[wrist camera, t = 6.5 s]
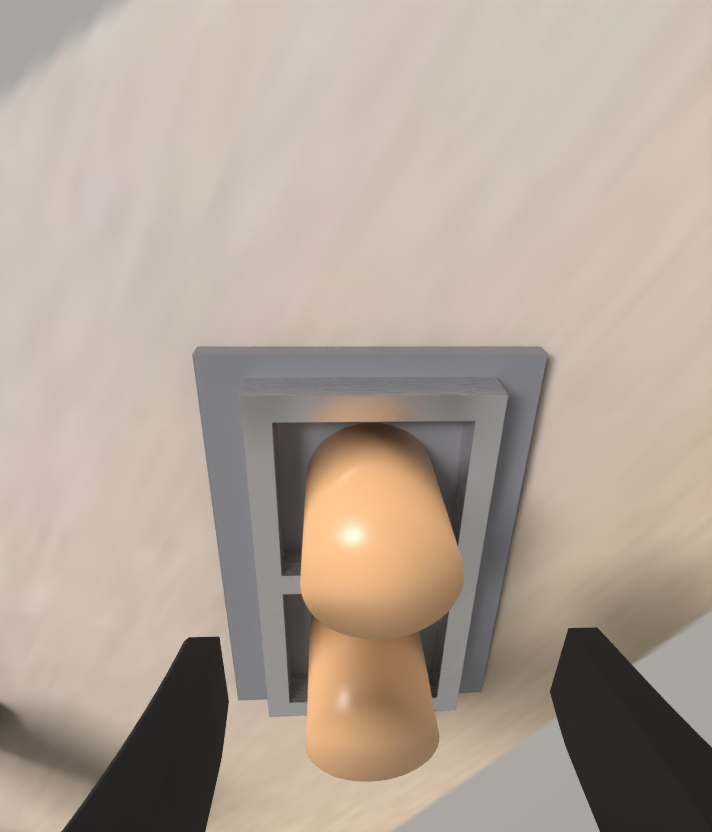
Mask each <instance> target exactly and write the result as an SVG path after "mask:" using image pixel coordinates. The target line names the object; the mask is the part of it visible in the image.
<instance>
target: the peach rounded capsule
mask: <svg viewBox="0 0 712 832" xmlns="http://www.w3.org/2000/svg"><path fill="white" fill-rule="evenodd" d="M463 584H464V566H463V561H462V558H461V555H460V552H459V548H458V545H457V542H456V539H455V536H454V533H453V529H452V526H451V523H450V520H449V517H448V514H447V510H446V507H445V504H444V501H443V498H442V495H441V491H440V488H439V485H438V482H437V479H436V476H435V472H434V469H433V466H432V463H431V460H430V457H429V455H428V452H427V451H426V449H425V448H424V446H423V445H422V444H421V443H420V441H419V440H418V439H417V438H415V437H414V436H413V435H412V434H410V433H409V432H407V431H405V430H403V429H401V428H399V427H396V426H393V425H389V424H384V423H375V422H372V423H360V424H355V425H351V426H348V427H345V428H343V429H340V430H338V431H337V432H335V433H333V434H332V435H330V436H329V437H327V438H326V439H325V440H324V441H323V442H322V443H321V444H320V445H319V446H318V447H317V448H316V450H315V451H314V453H313V455H312V456H311V459H310V461H309V464H308V468H307V475H306V491H305V508H304V526H303V543H302V560H301V577H300V586H301V593H302V597H303V600H304V602H305V604H306V606H307V607H308V609H309V610H310V612H311V613H312V614H313V615H314V616H315V618H316V619H318V620H319V621H320V622H321V623H322V624H324V625H326V626H327V627H329V628H330V629H332V630H334V631H336V632H339V633H341V634H344V635H347V636H351V637H355V638H361V639H372V640H381V639H392V638H398V637H402V636H407V635H410V634H413V633H416V632H418V631H420V630H423V629H425V628H427V627H428V626H430V625H432V624H434V623H435V622H436V621H438V620H439V619H441V618H442V617H443V616H444V615H445V614H446V613H447V612H448V611H449V610H450V609H451V608H452V607H453V605H454V604H455V602H456V601H457V599H458V597H459V595H460V593H461V591H462V587H463Z"/></svg>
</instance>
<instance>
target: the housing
mask: <svg viewBox="0 0 712 832" xmlns="http://www.w3.org/2000/svg"><path fill="white" fill-rule="evenodd" d="M192 355H193V363H194V370H195V378H196V385H197V393H198V400H199V408H200V415H201V423H202V431H203V438H204V446H205V453H206V461H207V468H208V476H209V483H210V491H211V498H212V506H213V513H214V521H215V529H216V536H217V544H218V551H219V559H220V566H221V574H222V581H223V589H224V596H225V604H226V611H227V619H228V626H229V634H230V642H231V649H232V657H233V664H234V672H235V679H236V687H237V694H238V700H264V699H268V709H269V717H278V716H306V715H307V732H306V749H307V753H308V756H309V758H310V759H311V761H312V762H313V763H314V764H315V765H316V766H317V767H318V768H320V769H321V770H323V771H324V772H326V773H328V774H330V775H332V776H335V777H338V778H342V779H346V780H352V781H381V780H387V779H391V778H396V777H399V776H402V775H405V774H407V773H409V772H411V771H413V770H415V769H417V768H419V767H420V766H422V765H423V764H424V763H425V762H427V761H428V760H429V759H430V758H431V757H432V755H433V754H434V752H435V751H436V749H437V747H438V743H439V732H438V727H437V721H436V716H435V711H446V710H456V705H457V699H458V693H470V692H481V690H482V685H483V680H484V675H485V670H486V664H487V659H488V654H489V649H490V644H491V639H492V634H493V629H494V624H495V619H496V614H497V609H498V604H499V599H500V593H501V588H502V583H503V578H504V573H505V568H506V563H507V558H508V553H509V548H510V543H511V538H512V533H513V528H514V522H515V517H516V512H517V507H518V502H519V497H520V492H521V487H522V482H523V477H524V472H525V467H526V462H527V457H528V451H529V446H530V441H531V436H532V431H533V426H534V421H535V416H536V411H537V406H538V401H539V396H540V391H541V386H542V380H543V375H544V370H545V365H546V360H547V355H548V354H547V353H546V352H545V351H544V350H543V349H542V348H541V347H197V348H196V349H195V351H194V353H193V354H192ZM372 422H375V423H384V424H389V425H393V426H396V427H399V428H401V429H403V430H405V431H407V432H409V433H410V434H412V435H413V436H414V437H415V438H417V439H418V440H419V441H420V443H421V444H422V445H423V446H424V448H425V449H426V451H427V452H428V455H429V457H430V460H431V463H432V466H433V469H434V472H435V476H436V479H437V482H438V485H439V488H440V491H441V495H442V498H443V501H444V504H445V507H446V510H447V514H448V517H449V520H450V523H451V526H452V529H453V533H454V536H455V539H456V542H457V545H458V548H459V552H460V555H461V558H462V561H463V566H464V584H463V587H462V591H461V593H460V595H459V597H458V599H457V601H456V602H455V604H454V605H453V607H452V608H451V609H450V610H449V611H448V612H447V613H446V614H445V615H444V616H443V617H442V618H441V619H439V620H438V621H436V622H435V623H434V624H432V625H430V626H428V627H427V628H425V629H423V630H420V631H418V632H416V633H413V634H410V635H407V636H402V637H398V638H392V639H381V640H372V639H361V638H355V637H351V636H347V635H344V634H341V633H339V632H336V631H334V630H332V629H330V628H329V627H327V626H326V625H324V624H322V623H321V622H320V621H319V620H318V619H316V618H315V616H314V615H313V614H312V613H311V612H310V610H309V609H308V607H307V606H306V604H305V602H304V600H303V597H302V593H301V586H300V577H301V560H302V543H303V526H304V508H305V491H306V475H307V468H308V464H309V461H310V459H311V456H312V455H313V453H314V451H315V450H316V448H317V447H318V446H319V445H320V444H321V443H322V442H323V441H324V440H325V439H326V438H327V437H329V436H330V435H332V434H333V433H335V432H337V431H338V430H340V429H343V428H345V427H348V426H351V425H355V424H360V423H372Z"/></svg>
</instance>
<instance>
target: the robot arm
mask: <svg viewBox="0 0 712 832" xmlns="http://www.w3.org/2000/svg"><path fill="white" fill-rule="evenodd" d="M550 693H551V697H552V701H553V704H554V708H555V712H556V715H557V719H558V722H559V726H560V729H561V733H562V736H563V739H564V743H565V746H566V748H567V751H568V753H569V756H570V759H571V761H572V763H573V766H574V769H575V771H576V773H577V776H578V778H579V781H580V784H581V786H582V788H583V791H584V793H585V796H586V798H587V800H588V803H589V805H590V808H591V811H592V813H593V815H594V818H595V820H596V823H597V825H598V828H599V830H600V832H712V747H711V746H710V745H709V744H707V742H706V741H705V740H704V739H703V738H701V737H700V735H699V734H697V732H695V731H694V729H692V728H691V726H690V725H689V724H688V723H687V722H686V721H685V720H684V719H683V718H682V717H681V716H680V715H679V714H678V713H677V712H676V711H675V710H674V709H673V708H672V707H671V706H670V705H669V704H668V703H667V702H666V701H665V700H664V699H663V698H662V697H661V695H660V694H659V693H658V692H657V691H656V690H655V689H654V688H653V687H652V686H651V685H650V684H649V683H648V682H647V681H646V680H645V678H644V677H643V676H642V675H641V674H640V673H639V672H638V671H637V670H636V669H635V668H634V667H633V666H632V664H631V663H630V662H629V661H628V660H627V659H626V658H625V657H624V656H623V655H622V654H621V653H620V651H619V650H618V649H617V648H616V647H615V646H614V645H613V644H612V643H611V642H610V641H609V640H608V639H607V637H606V636H605V635H604V634H603V633H602V632H601V631H600V630H599V629H598V628H568V632H567V635H566V639H565V642H564V645H563V649H562V652H561V656H560V659H559V663H558V666H557V669H556V673H555V676H554V680H553V683H552V687H551V690H550ZM228 703H229V700H228V693H227V686H226V679H225V672H224V665H223V659H222V652H221V645H220V638H219V637H189V638H188V639H186V640H185V641H184V642H183V644H182V646H181V648H180V650H179V652H178V654H177V656H176V658H175V660H174V661H173V663H172V665H171V667H170V669H169V671H168V672H167V674H166V676H165V678H164V679H163V681H162V683H161V685H160V686H159V688H158V690H157V691H156V693H155V695H154V696H153V698H152V700H151V701H150V703H149V705H148V706H147V708H146V710H145V711H144V713H143V714H142V716H141V718H140V719H139V721H138V722H137V724H136V725H135V727H134V729H133V730H132V732H131V733H130V735H129V736H128V738H127V740H126V741H125V743H124V744H123V746H122V747H121V749H120V750H119V752H118V753H117V755H116V756H115V758H114V759H113V761H112V762H111V764H110V765H109V766H108V768H107V769H106V771H105V772H104V774H103V775H102V776H101V778H100V779H99V781H98V782H97V784H96V785H95V787H94V788H93V789H92V791H91V792H90V794H89V795H88V797H87V798H86V799H85V801H84V802H83V804H82V805H81V806H80V808H79V809H78V810H77V812H76V813H75V814H74V816H73V817H72V818H71V820H70V821H69V822H68V824H67V825H66V826H65V828H64V829H63V830H62V832H205V830H206V826H207V821H208V817H209V813H210V808H211V804H212V799H213V795H214V790H215V786H216V781H217V777H218V772H219V767H220V763H221V758H222V751H223V744H224V736H225V728H226V720H227V712H228Z"/></svg>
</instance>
